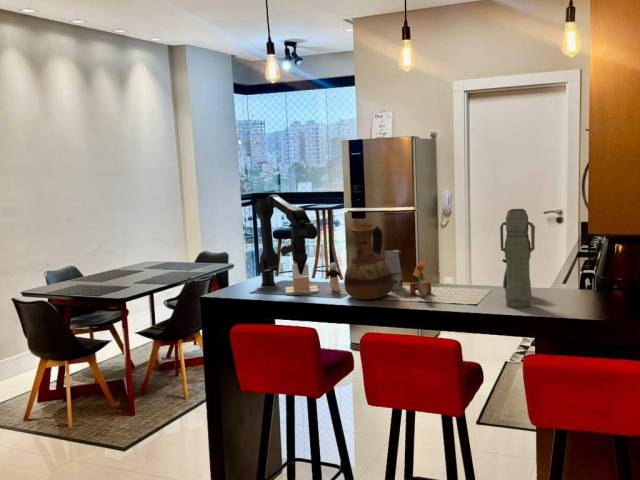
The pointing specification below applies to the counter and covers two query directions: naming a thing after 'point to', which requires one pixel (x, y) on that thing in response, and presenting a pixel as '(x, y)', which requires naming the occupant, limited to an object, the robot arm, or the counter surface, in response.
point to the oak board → (298, 292)
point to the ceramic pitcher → (368, 266)
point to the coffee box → (395, 267)
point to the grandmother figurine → (334, 277)
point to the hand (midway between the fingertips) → (300, 273)
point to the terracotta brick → (301, 283)
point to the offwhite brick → (296, 271)
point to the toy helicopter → (420, 281)
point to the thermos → (518, 258)
